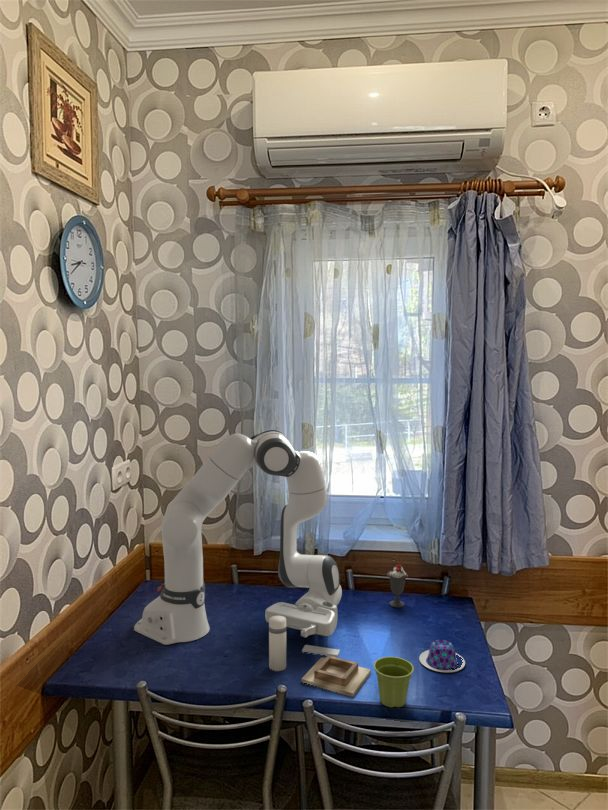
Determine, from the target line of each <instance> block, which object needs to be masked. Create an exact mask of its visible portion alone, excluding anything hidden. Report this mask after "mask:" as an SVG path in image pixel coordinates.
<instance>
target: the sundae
mask: <svg viewBox="0 0 608 810" xmlns="http://www.w3.org/2000/svg"><path fill="white" fill-rule="evenodd" d="M400 563H401V562H400V561H399V562H398V563H397V564H396V565H395V566H394V567H393V569H392V570H389V571H388V572H387V573H386V576H387V577H388V579H389V584H390V590H391V592H392V593H393V594H394V596H395V597H394V600H391V601H389V606H390V607H393V608H403V607H405V602H403V601H401V600H400V595H401V594H402V593H403V592H404V589H405V583H406V580H407V578H408V577H409V575H408V573H407V572H406V570H404V568H403V566H402V564H400Z"/></svg>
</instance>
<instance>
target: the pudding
mask: <svg viewBox="0 0 608 810" xmlns="http://www.w3.org/2000/svg"><path fill="white" fill-rule="evenodd" d="M456 655H458V656H459V657H461V658H462V659H463V660H462V659H461V660H462V662H463V663H462V665H461V667H460V668H457V669H455V668H456V666H458V665H457V664H458V662H457V658H456ZM418 660H419V662H420V663H421V665H423V666H424V667H426V668H427V669H429V670H432V671H435V672H440V673H456V672H459V671H460V670H462V669H464V667H465V665H466V660H465V659H464V657H463V656H462V655H460V654H458V653H457V652H456V650H455V646H454V645H453V643H452V642H450V641H448V640H446V639H436V640H433V641H432V642H431V643H430V648H429V649H427V650H425V651H423V652H421V654H420V655H419V658H418ZM455 665H456V666H455ZM437 668H439V669H437ZM449 668H450V669H449ZM451 668H454V669H455V670H452V669H451ZM447 669H448V670H447Z"/></svg>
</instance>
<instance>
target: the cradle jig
mask: <svg viewBox="0 0 608 810" xmlns="http://www.w3.org/2000/svg"><path fill="white" fill-rule="evenodd" d="M371 670H372V669H369V668H366V667H362V666H359V662H356V661H353V660H348V659H344V658H340V657H338V658H337V657H333V656H329V655H328V656H325V657H324V656H321V657H320V658H319V659H318V660H317V661H316V662H315V664H314V665H313V666H312V667H310V669H309V670H307V672H306V673H305V674H304V676H303V677H302V678H301V680H300V681H301V682H303V683H302V684H304V683H307V684H306V685H308V684H310V685H309V686H311V685H314V686H313V687H315V686H317V687H316V688H318V687H320V689H322V688H323V690H326V689H327V690H326V691H329V690H330V692H334V693H336V692H337V694H340V695H345V696H348V697H351V698H354V697H355V695H356V694H357V693H358V691H359V690H360V689H361V687H362V686H363V685H364V683H365V682H366V680H367V679H368V677H369V676H370V675H371V673H372V671H371ZM301 682H300V683H301Z"/></svg>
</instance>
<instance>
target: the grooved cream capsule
mask: <svg viewBox="0 0 608 810" xmlns="http://www.w3.org/2000/svg"><path fill="white" fill-rule="evenodd" d="M268 667H269V669H270V670H271V669H272V670H271V671H273V670H274V671H273V672H282V671H285V669H286V668H287V627H286V618H285V617H283V616H272V617H270V618H269V622H268Z"/></svg>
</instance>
